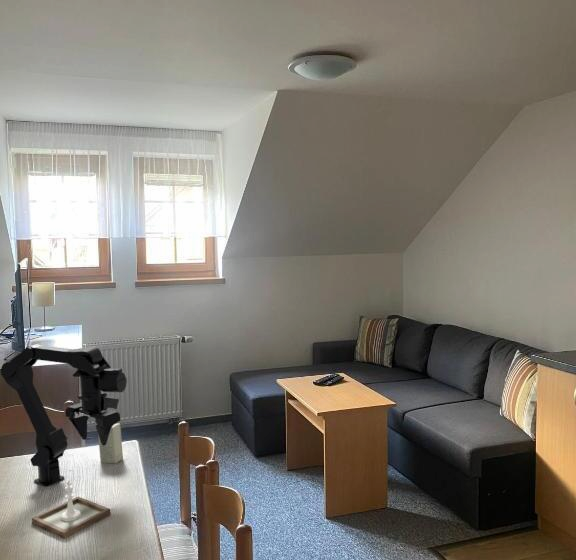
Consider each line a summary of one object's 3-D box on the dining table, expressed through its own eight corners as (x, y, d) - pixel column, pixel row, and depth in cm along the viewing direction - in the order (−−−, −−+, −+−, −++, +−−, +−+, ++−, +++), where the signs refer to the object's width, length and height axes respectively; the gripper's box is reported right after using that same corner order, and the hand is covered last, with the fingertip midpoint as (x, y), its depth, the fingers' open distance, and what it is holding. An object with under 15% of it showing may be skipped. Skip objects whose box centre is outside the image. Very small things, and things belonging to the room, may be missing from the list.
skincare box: (123, 458, 192) (121, 423, 191) (115, 464, 188) (113, 427, 186) (107, 456, 194) (105, 421, 193) (99, 462, 190) (96, 426, 188)
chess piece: (67, 523, 149) (64, 486, 148) (57, 517, 152) (54, 481, 151) (84, 515, 153) (82, 479, 152) (74, 510, 156) (72, 474, 155)
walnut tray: (32, 523, 150) (31, 517, 150) (78, 501, 162) (78, 496, 162) (64, 538, 143) (63, 532, 142) (110, 514, 154) (110, 509, 154)
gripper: (133, 388, 172) (136, 439, 173) (94, 380, 182) (97, 428, 184) (102, 398, 163) (105, 451, 164) (62, 389, 173) (66, 439, 175)
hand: (94, 442), depth 172 cm, fingers open, 9 cm apart
